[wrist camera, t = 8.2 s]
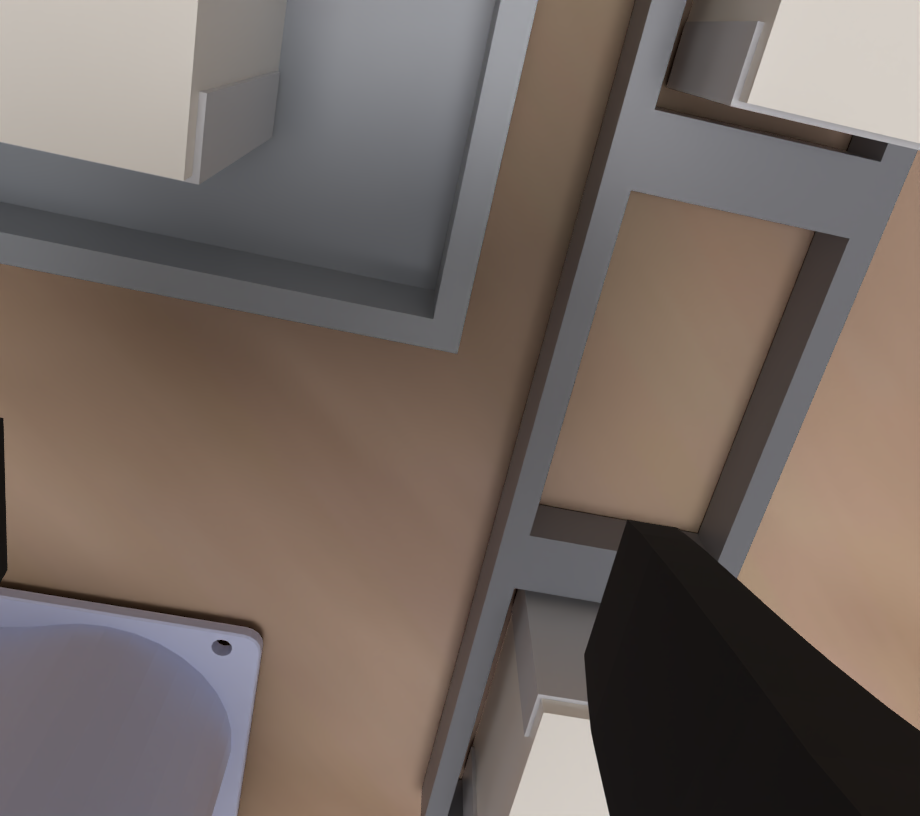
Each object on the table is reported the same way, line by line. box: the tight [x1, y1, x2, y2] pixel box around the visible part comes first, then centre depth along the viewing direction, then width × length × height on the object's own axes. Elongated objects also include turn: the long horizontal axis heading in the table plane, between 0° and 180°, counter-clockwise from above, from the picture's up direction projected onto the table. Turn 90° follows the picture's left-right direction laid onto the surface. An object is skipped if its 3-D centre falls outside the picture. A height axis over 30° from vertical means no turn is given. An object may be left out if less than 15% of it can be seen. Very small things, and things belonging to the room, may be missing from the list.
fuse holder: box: [421, 0, 918, 816], centre depth 19 cm, size 6×28×2 cm, turn 168°
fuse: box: [462, 589, 610, 816], centre depth 21 cm, size 4×7×5 cm, turn 168°
